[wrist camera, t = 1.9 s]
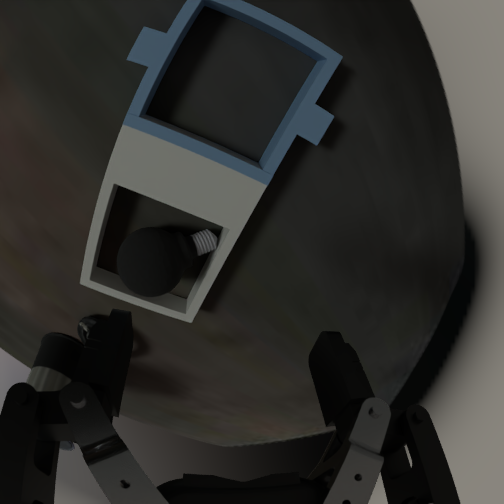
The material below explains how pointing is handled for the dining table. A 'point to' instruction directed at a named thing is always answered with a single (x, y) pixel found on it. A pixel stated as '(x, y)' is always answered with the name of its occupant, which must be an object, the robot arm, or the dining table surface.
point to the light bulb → (159, 258)
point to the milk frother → (59, 363)
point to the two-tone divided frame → (199, 154)
